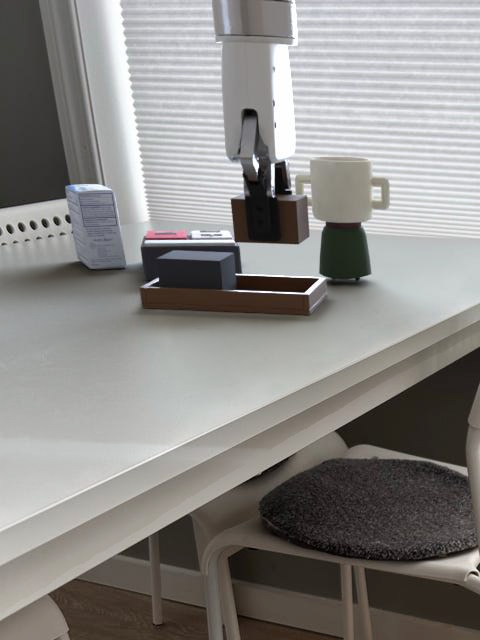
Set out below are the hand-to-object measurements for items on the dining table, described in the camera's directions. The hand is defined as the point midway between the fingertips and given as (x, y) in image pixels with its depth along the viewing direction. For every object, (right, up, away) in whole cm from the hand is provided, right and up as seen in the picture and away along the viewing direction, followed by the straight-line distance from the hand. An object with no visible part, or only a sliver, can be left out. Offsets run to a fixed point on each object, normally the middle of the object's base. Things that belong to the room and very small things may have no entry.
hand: (272, 234), depth 97 cm
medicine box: (-26, +5, +20) cm, 33 cm away
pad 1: (-8, -5, +3) cm, 10 cm away
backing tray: (-4, -6, +3) cm, 8 cm away
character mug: (+5, +1, +16) cm, 17 cm away
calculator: (-14, +4, +19) cm, 24 cm away
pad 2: (0, 0, 0) cm, 0 cm away
